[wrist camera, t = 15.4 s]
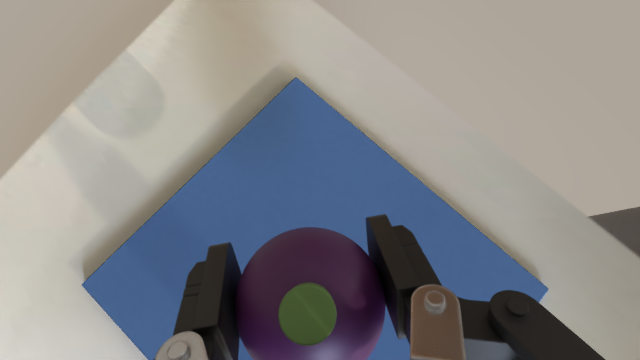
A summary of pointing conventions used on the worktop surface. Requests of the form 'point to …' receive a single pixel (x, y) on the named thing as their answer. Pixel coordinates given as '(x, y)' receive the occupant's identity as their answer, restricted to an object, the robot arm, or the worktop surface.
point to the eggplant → (310, 298)
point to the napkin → (292, 219)
